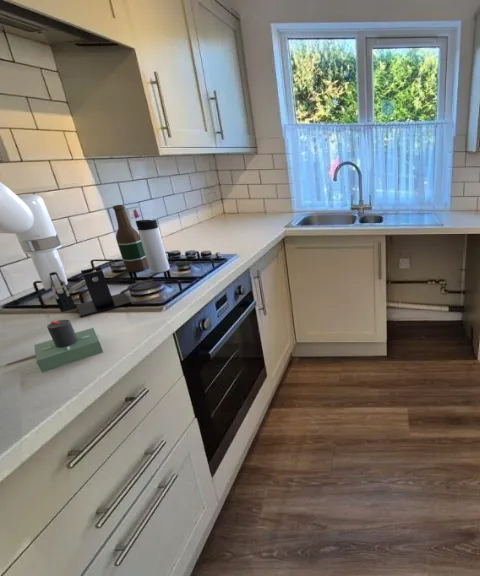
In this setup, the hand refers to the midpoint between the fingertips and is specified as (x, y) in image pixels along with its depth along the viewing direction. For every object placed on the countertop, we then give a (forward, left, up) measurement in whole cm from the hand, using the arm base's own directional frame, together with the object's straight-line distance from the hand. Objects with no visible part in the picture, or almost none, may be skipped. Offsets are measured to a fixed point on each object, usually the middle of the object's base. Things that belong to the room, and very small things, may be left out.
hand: (67, 305), depth 100 cm
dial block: (-2, -24, -4) cm, 24 cm away
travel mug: (+28, +21, -4) cm, 35 cm away
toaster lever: (+4, 0, +4) cm, 6 cm away
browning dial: (-2, -24, -1) cm, 24 cm away
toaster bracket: (+8, 0, -4) cm, 9 cm away
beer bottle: (+23, +32, -4) cm, 39 cm away
